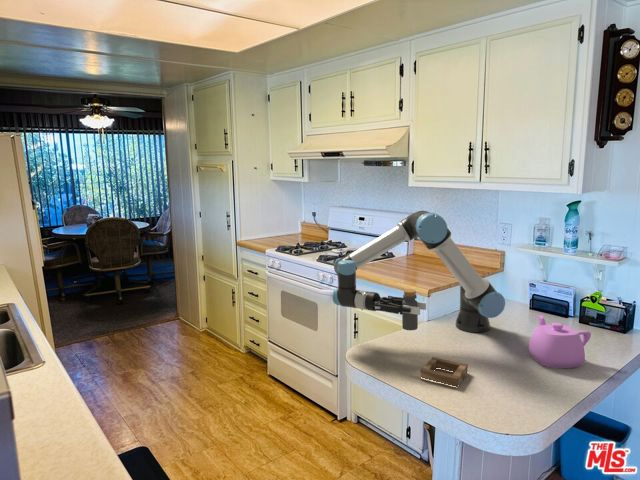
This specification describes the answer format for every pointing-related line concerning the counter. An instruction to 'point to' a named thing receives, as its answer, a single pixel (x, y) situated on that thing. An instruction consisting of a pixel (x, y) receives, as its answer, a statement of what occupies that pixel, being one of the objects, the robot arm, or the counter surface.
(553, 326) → the teapot
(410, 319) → the bottle
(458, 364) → the block
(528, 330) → the counter surface
